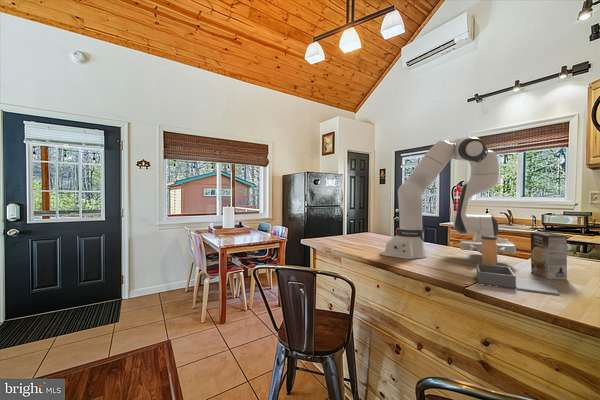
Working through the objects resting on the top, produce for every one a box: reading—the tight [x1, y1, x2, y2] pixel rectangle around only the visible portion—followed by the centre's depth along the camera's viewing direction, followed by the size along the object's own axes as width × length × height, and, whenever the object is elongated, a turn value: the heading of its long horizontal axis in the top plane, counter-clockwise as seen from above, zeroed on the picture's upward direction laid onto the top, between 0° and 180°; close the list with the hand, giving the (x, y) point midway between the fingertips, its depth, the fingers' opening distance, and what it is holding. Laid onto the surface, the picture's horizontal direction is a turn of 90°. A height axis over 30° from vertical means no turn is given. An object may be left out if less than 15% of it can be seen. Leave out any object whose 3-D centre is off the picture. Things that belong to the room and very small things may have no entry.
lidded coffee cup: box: [481, 236, 498, 266], centre depth 103 cm, size 5×5×14 cm
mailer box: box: [475, 263, 560, 296], centre depth 87 cm, size 20×12×4 cm, turn 57°
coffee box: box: [530, 231, 568, 280], centre depth 94 cm, size 9×6×16 cm
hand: (488, 250), depth 107 cm, fingers open, 8 cm apart
